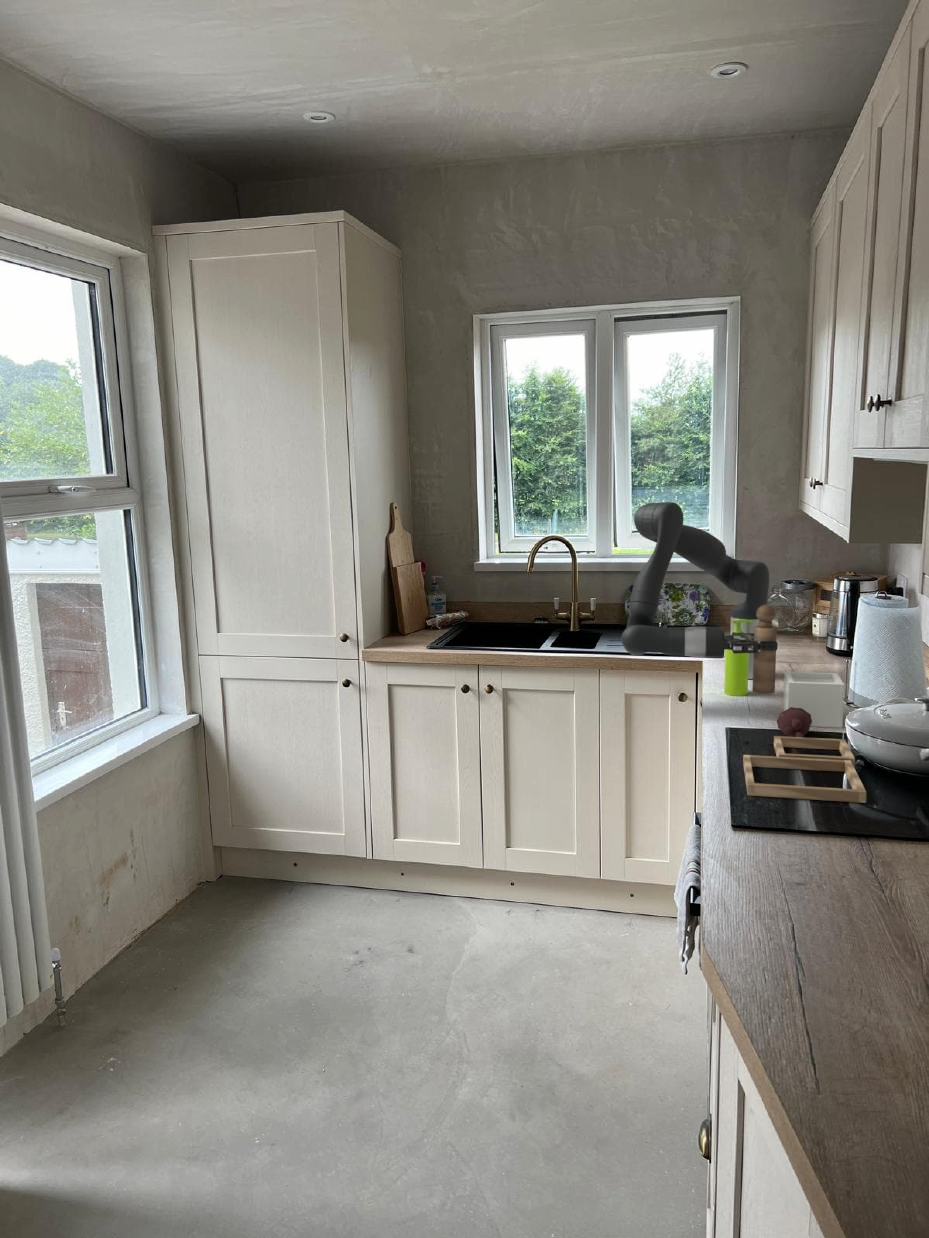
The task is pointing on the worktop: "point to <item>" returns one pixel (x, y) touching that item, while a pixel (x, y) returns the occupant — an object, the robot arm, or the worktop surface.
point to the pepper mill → (764, 652)
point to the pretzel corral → (804, 791)
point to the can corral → (815, 744)
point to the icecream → (794, 722)
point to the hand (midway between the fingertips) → (776, 643)
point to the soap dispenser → (736, 667)
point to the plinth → (815, 696)
